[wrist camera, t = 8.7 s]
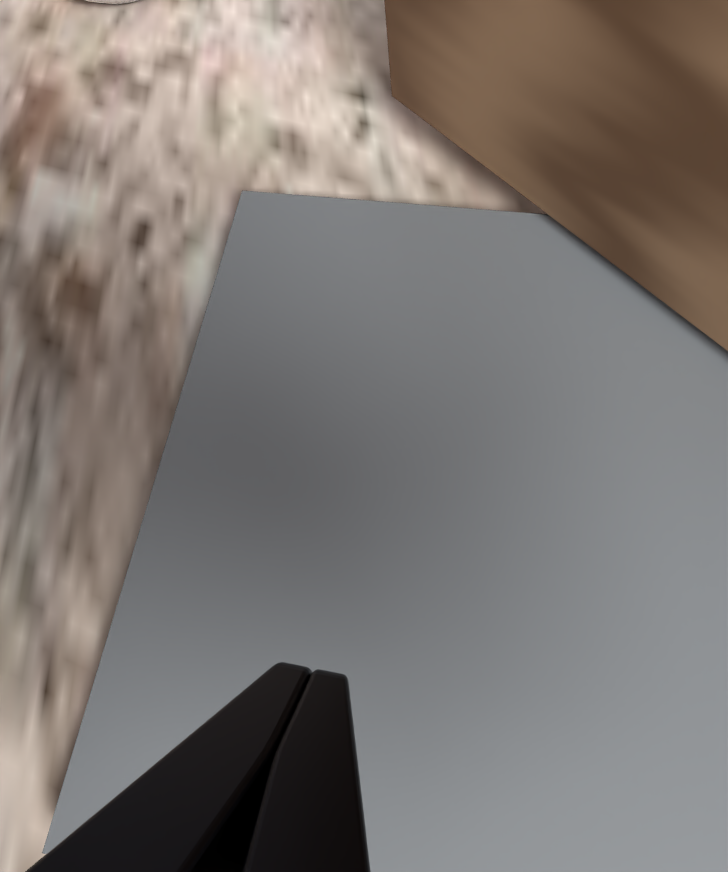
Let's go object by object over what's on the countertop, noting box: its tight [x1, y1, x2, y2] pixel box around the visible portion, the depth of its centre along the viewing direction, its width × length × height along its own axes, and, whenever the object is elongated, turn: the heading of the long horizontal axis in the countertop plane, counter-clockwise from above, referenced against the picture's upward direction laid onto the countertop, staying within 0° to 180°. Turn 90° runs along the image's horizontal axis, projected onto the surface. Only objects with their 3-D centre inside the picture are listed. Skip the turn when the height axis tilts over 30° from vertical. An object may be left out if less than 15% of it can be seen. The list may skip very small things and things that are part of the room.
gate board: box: [42, 191, 728, 872], centre depth 16 cm, size 26×18×1 cm
